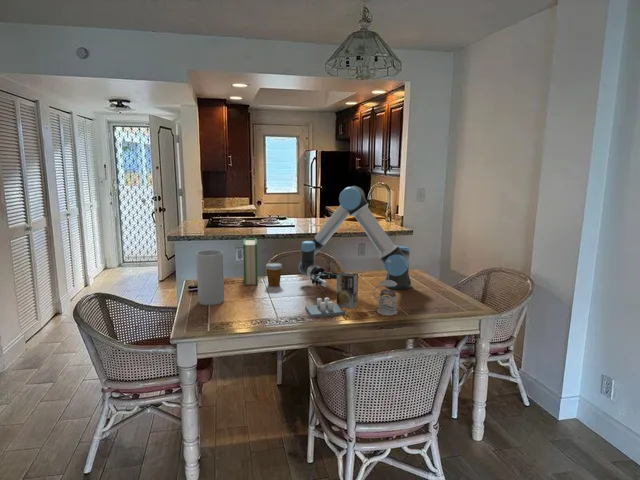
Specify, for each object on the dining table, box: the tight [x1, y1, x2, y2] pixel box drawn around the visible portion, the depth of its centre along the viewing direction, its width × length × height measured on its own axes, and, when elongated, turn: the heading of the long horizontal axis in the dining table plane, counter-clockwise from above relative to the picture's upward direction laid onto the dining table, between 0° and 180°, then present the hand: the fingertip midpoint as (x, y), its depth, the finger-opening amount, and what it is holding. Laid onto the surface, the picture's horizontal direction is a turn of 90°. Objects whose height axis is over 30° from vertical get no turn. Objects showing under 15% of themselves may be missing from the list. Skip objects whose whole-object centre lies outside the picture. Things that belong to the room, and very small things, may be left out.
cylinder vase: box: [195, 249, 225, 306], centre depth 208 cm, size 12×12×25 cm
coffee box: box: [336, 271, 359, 310], centre depth 205 cm, size 9×6×16 cm
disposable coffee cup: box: [265, 262, 283, 287], centre depth 239 cm, size 10×10×12 cm
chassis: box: [304, 297, 346, 319], centre depth 197 cm, size 16×12×6 cm
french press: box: [373, 260, 398, 316], centre depth 197 cm, size 10×12×25 cm
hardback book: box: [242, 237, 258, 287], centre depth 244 cm, size 18×7×24 cm, turn 9°
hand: (337, 282), depth 212 cm, fingers open, 13 cm apart
